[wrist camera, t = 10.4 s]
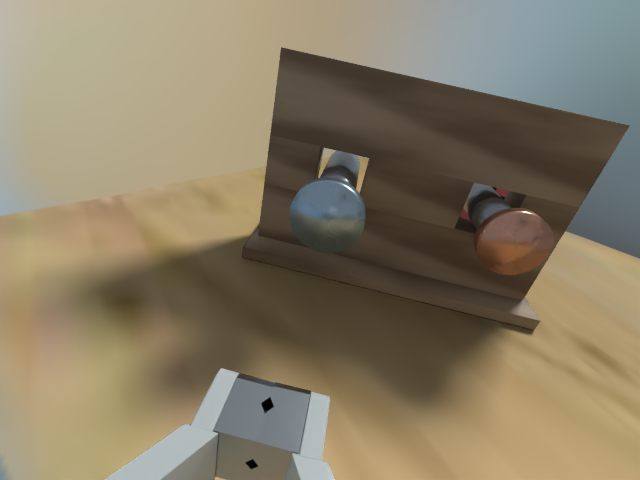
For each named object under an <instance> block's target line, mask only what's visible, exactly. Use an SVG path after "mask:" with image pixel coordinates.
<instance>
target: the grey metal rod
mask: <svg viewBox="0 0 640 480" xmlns="http://www.w3.org/2000/svg"><path fill="white" fill-rule="evenodd" d="M359 167H360V162H359V158H358V156H357V155H354V154H350V153H346V152H341V151H335V152H334V153H333V154H332V155H331V157H330V159H329V161H328V163H327V165H326V167H325V169H324V171H323V173H322V175H321V177H320V178H318V179H315V180H312V181H310V182H308V183H307V184H305V185H304V186H303V187H302V188H301V189H300V190H299V192H298V193H297V195H296V196H295V198H294V200H293V201H292V204H291V206H290V210H289V221H290V225H291V228H292V231H293V233H294V234H295V236H296V237H297V238H298V240H299V241H300V242H302V243H303V244H304V245H305V246H307V247H309V248H310V249H313V250H315V251H318V252H323V253H335V252H340V251H343V250H345V249H347V248H349V247H351V246H352V245H353V244H354V243H355V242H356V241H357V240H358V239H359V238H360V236H361V234H362V232H363V229H364V225H365V205H364V202H363V199H362V197H361V196H360V194H359V193H358V191H357V190H356V186H357V180H358V173H359Z"/></svg>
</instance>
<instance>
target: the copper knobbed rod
mask: <svg viewBox="0 0 640 480" xmlns="http://www.w3.org/2000/svg"><path fill="white" fill-rule="evenodd" d="M463 208H464V210H465V212H466V213H467V215H468V216H469V218H470V220H471V221H472V223H473V224H474V226H475V228H476V229H477V231H476V234H475V238H474V247H475V250H476V253H477V255H478V256H479V258H480V260H481V262H482V263H483V264H484V265H485V267H487V268H488V269H489V270H491V271H493V272H495V273H499V274H503V275H516V274H521V273H525V272H527V271H530V270H532V269H534V268H535V267H537V266H538V265H540V264H541V263H542V262H543V261H544V260H545V259H546V258H547V256H548V255H549V254H550V252H551V249H552V247H553V241H554V237H553V232H552V230H551V228H550V226H549V225H548V224H547V223H546V222H545V221H544V220H543V219H542V218H541V217H540V216H539V215H537V214H536V213H534V212H533V211H530V210H528V209H524V208H512V207H511V206H510V205H509V204H508V203H507V202H506V201H505V200H504V199H503V198H502V197H501V196H500V195H499V194H498V193H497V192H496V191H495V190H494V189H493V188H492V187H491V186H486V185H482V184H478V183H474V184H473V186H472V189H471V191H470V193H469V196H468V198H467V200H466V203H465V205H464V207H463Z"/></svg>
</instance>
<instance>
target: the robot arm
mask: <svg viewBox="0 0 640 480" xmlns="http://www.w3.org/2000/svg"><path fill="white" fill-rule="evenodd" d="M329 405H330V397H329V396H326V395H322V394H318V393H314V392H311V391H309V390H305V389H300V388H296V387H292V386H288V385H284V384H280V383H276V382H275V383H273V382H269V381H266V380H262V379H259V378H255V377H252V376H248V375H245V374H241V373H238V372H234V371H231V370H227V369H223V368H221V369H220V370H219V371H218V373H217V374H216V376H215V378H214V380H213V382H212V384H211V386H210V388H209V390H208V391H207V393H206V395H205V397H204V399H203V401H202V403H201V405H200V407H199V409H198V411H197V413H196V415H195V416H194V418H193V420H192V422H191V424H190V425H187V424H183V425H182V426H180V427H179V428H178V429H176V430H175V431H173V432H172V433H170V434H169V435H168V436H166V437H165V438H163V439H162V440H160V441H159V442H158V443H156V444H155V445H153V446H152V447H150V448H149V449H147V450H146V451H145V452H143V453H142V454H140V455H139V456H137V457H136V458H135V459H133V460H132V461H130V462H129V463H127V464H126V465H125V466H123V467H122V468H120V469H119V470H117V471H116V472H114V473H113V474H112V475H110V476H109V477H107V478H106V479H104V480H214V479H215V477H219V478H223V479H227V480H335V479H334V476H333V474H332V471H331V469H330V466H329V464H328V462H325V461H322V458H323V450H324V443H325V435H326V428H327V420H328V413H329Z"/></svg>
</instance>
